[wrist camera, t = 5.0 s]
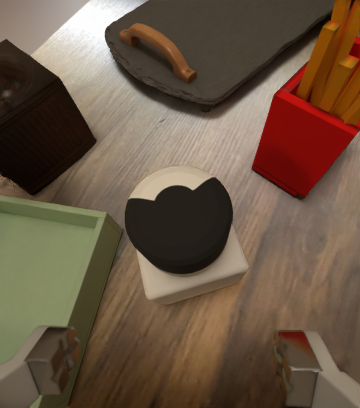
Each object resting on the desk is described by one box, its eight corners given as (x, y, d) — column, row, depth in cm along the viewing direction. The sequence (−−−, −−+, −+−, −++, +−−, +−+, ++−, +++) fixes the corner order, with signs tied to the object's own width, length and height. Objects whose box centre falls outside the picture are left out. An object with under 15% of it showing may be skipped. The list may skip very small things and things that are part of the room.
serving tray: (255, -48, 47) (262, -97, 42) (373, -9, 39) (402, -65, 33) (92, 57, 38) (73, 13, 33) (198, 137, 30) (196, 95, 24)
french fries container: (352, 148, 27) (479, 0, 15) (306, 205, 25) (408, 89, 12) (295, 118, 30) (361, -31, 17) (248, 167, 27) (285, 39, 15)
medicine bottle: (238, 283, 22) (268, 249, 12) (162, 306, 22) (122, 294, 11) (213, 214, 26) (218, 136, 15) (146, 233, 25) (102, 170, 15)
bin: (67, 407, 20) (30, 430, 16) (-84, 359, 22) (-149, 368, 18) (123, 229, 26) (107, 212, 22) (-1, 208, 28) (-37, 189, 24)
